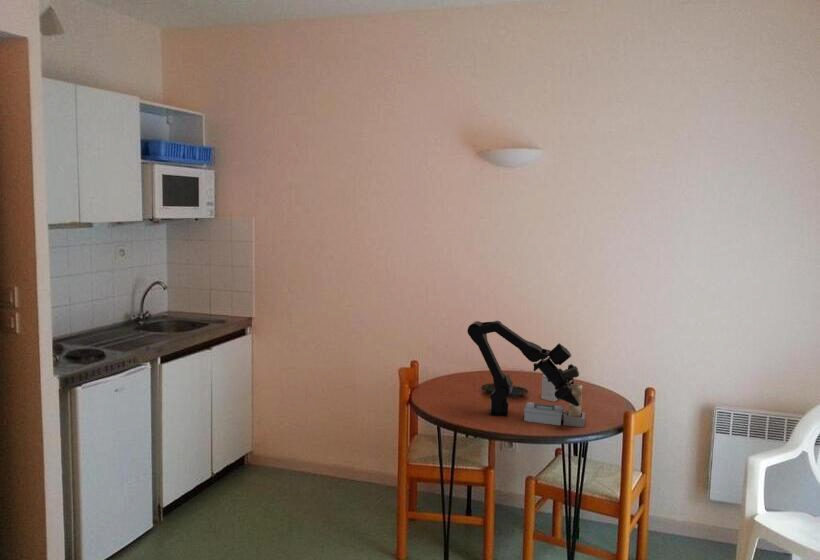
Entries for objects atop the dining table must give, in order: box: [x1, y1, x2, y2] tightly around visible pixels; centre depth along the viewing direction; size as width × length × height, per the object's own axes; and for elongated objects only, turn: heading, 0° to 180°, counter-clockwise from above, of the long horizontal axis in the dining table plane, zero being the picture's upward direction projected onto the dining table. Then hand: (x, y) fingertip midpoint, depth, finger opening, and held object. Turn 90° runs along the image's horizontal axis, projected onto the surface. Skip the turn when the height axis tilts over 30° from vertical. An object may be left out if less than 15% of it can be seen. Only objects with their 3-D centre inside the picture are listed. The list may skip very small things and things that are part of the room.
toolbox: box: [523, 401, 586, 428], centre depth 260 cm, size 23×10×6 cm, turn 72°
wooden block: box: [568, 383, 583, 417], centre depth 257 cm, size 4×4×15 cm
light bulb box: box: [541, 374, 560, 402], centre depth 289 cm, size 11×7×11 cm, turn 141°
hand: (579, 402), depth 256 cm, fingers open, 7 cm apart
